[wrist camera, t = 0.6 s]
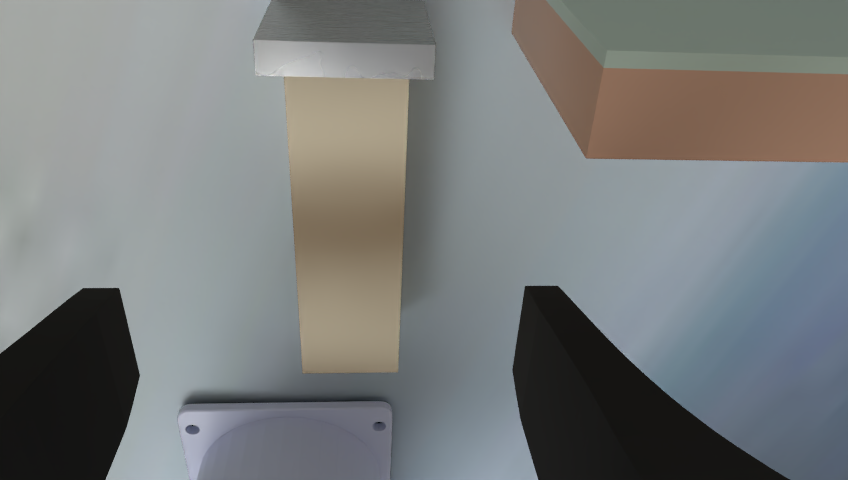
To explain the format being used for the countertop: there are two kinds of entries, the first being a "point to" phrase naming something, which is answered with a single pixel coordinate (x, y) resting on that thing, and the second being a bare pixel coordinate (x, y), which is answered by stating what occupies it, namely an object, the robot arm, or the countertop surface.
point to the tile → (694, 76)
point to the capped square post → (347, 166)
